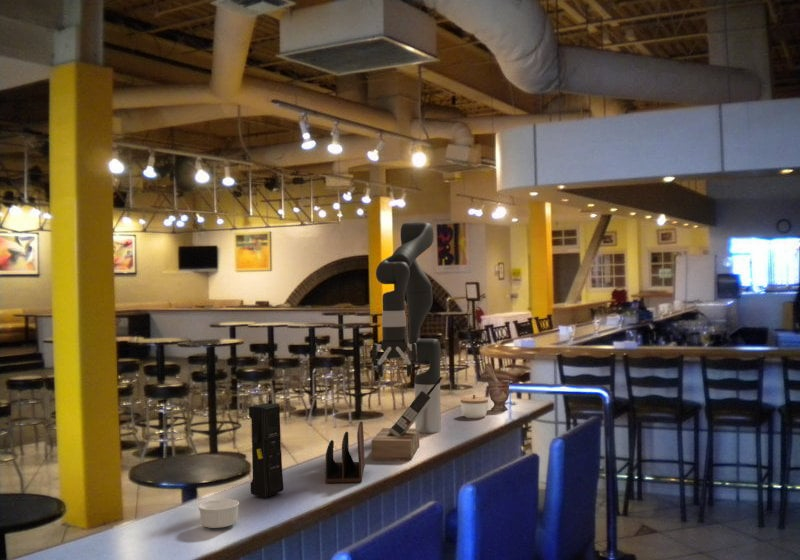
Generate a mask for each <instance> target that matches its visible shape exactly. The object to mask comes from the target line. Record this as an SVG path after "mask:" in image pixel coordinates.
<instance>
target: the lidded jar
mask: <svg viewBox="0 0 800 560" xmlns="http://www.w3.org/2000/svg"><path fill="white" fill-rule="evenodd" d="M488 402H489V399H488V398H487V397H482V396H480V397H477V396H476V394H472V397H470V396H467V397H462V398H461V399H460V409H461V412H462V415H463V416H464V417H465V418H468V419H481V418H484V417H485V416H486V414H487V411H488V407H489V406H488V404H489V403H488Z"/></svg>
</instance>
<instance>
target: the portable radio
mask: <svg viewBox="0 0 800 560" xmlns="http://www.w3.org/2000/svg"><path fill="white" fill-rule="evenodd" d="M271 395H272V394H271V393H268V395H267V396H268V400H267V402H268V403H267V402H266V403H260V404H257V405H252V406H249V407H248V417H249V418H250V419H251V449H252V450H251V455H252V456H251V457H252V459H251V460H252V461H251V462H252V465H251V466H252V481H251V482H250V484H249V485H250V494H251V495H253V496H258V497H265V498H268V497H271V496H273V495H276V494H280V493H282V492H283V491H284V479H283V477H284V476H283V475H284V474H283V460H282V448H281V447H282V445H281V444H282V443H281V413H280V412H281V409H280V408H281V406H280V403H273V402H272V400H271Z"/></svg>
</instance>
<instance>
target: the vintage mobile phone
mask: <svg viewBox="0 0 800 560" xmlns="http://www.w3.org/2000/svg"><path fill="white" fill-rule="evenodd" d="M442 379H443V377H442V376H440V379H439V380H438V381H437V382H436V384H435V385H434V386H433V387H432V388H431V389H430V390H429V392H428V393H427V394H426V393H425V392H423V391H421V392H420V393H419V394H418V396H417V397H416V398H415V397H414V400H413V401H412V402H411V403H410V405H409V406H408V407H407V409H405V411H404V412H403V413H402V414H401V416H400V417H399V418H398V420H397V421H396V422H395V423H394V424H393V425H392V426H391V427H390V430H389V434H390V436H403V435H404V434H405V433H406V432H407V430H408V429H409V428H411V426H412V425H413V424H414V423H415V420H416V419H417V418H418V417H419V415H420V414H421V413H422V412H423V411H424V409H425V408H426V407H427V406H428V404H429V403H430V399H431V397H430V396H429V395H430V393H431V392H432V391H433V390H434V388H435V387H436V385H437V384H438V383H439V382H440V383H441V381H442Z"/></svg>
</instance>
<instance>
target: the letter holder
mask: <svg viewBox="0 0 800 560" xmlns="http://www.w3.org/2000/svg"><path fill="white" fill-rule="evenodd" d="M356 433H357V434H356V439H357V458H358V461H355V460H353V457H352V455H351V452H350V451H349V443H350V442H349V431H345V432H344V434H343V438H342V442H341V461H339V462H336V461H335V460H334V445H335V442H334V440H333V439H331V440H330V441H329V444H328V445H327V447H326V452H325V468H324V469H325V472H324V473H325V476H324V477H325V478H324V482H325V484H330V483H331V484H332V483H333V484H334V483H336V484H338V483H362V481H363V477H364V476H363V475H364V471H365V466H366V458H365V454H366V453H365V439H364V438H365V435H364V422H363V421H361V420H360V421H359V422H358V425H357V432H356Z"/></svg>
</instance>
